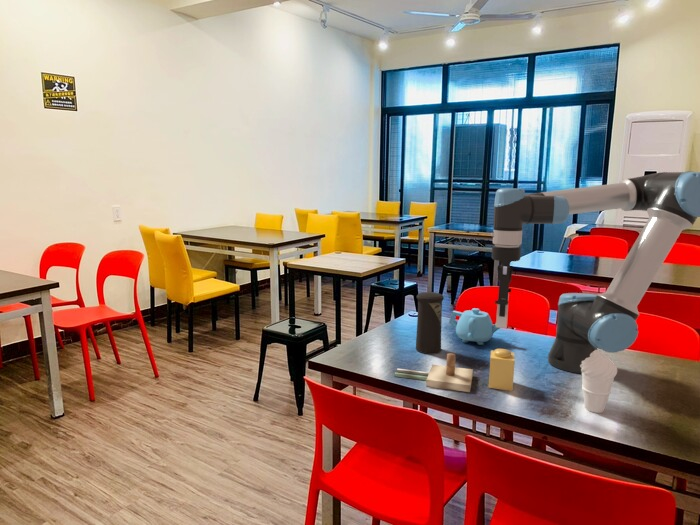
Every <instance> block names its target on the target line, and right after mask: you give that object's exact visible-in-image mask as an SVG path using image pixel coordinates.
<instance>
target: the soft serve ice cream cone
mask: <svg viewBox="0 0 700 525" xmlns="http://www.w3.org/2000/svg"><path fill="white" fill-rule="evenodd" d="M581 363H582V364H581V365H580V367H581V368H582V369H581V372H582V373H581V377H582V382H581V383H582V385H581V389H582V395H583V404H584V409H585V410H586V411H589V412H591V413H593V414H594V413H595V414H601V413H604V412H605V411H604V410H605V408H606V406H607V403H608V400H609V396H610V395H611V393H612V386H613V382H614V380H615V377H616V376H617V374H618V367H617V365H616V363H614V361H613V360H611V359H610V358H609V357H608V356H605V355H604V354H603V353H602V352H601V350H600V349H598V348H597V350H595V351H593V352H592V353H591V354H590V357H588V358H586V359H585V360H583V361H582V362H581Z"/></svg>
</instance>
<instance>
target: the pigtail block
mask: <svg viewBox="0 0 700 525" xmlns="http://www.w3.org/2000/svg"><path fill="white" fill-rule="evenodd" d="M473 373H474V369H473V368H472V369H471V368H464V367H456V354H455V353H452V352H449V353H447V354H446V365H440V364H431V367H430V369H429V371H428V372H427V371H419V370H413V369H405V368H396V370H395V372H394V375H393V376H394V377H396V378H404V379H405V378H406V379H411V380H412V379H413V380H420V381H425V386H426V387H430V388H435V389H442V390H451V391H459V392H465V393H470V392H471V387H472V380H473V377H474V376H473Z"/></svg>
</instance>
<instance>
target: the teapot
mask: <svg viewBox="0 0 700 525" xmlns="http://www.w3.org/2000/svg"><path fill="white" fill-rule="evenodd" d="M457 317H459V319H458V320H457V321H456V318H457ZM448 323H449V324H450V325H451V326H452V327H453V328H454V329H455V334H456V336H457V337H458V338H459V339H461V341H462V342H461V343H468V342H476V344H477V345H480V346H482V345H484V344H485V343H486V342H488V341H490V340H491V338H492V337H493V336H494V333H495V332H497V331H498V330H500V328H497V327H496V323H494V324H493V321H492V319H491V316H490V315H489V313H488V312H485V311H481V310H480V308H475V307H474V308H472V309H471V310H470V309H469V310H464V311H463V312H461V311H457V310H453V311H451V315H450V318H449V321H448Z"/></svg>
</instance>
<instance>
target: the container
mask: <svg viewBox="0 0 700 525" xmlns="http://www.w3.org/2000/svg"><path fill="white" fill-rule="evenodd" d="M416 299H417V319H416V320H417V321H416V322H417V324H416V339H415V350H416V351H417V352H419V353H421V354H431V355H432V354H438V353H440V352H441V351H442V323H443V322H442V319H443V318H442V317H443V316H442V313H443V310H442V309H443V301H444V299H445V298H444V295H443V294H441V293H439V292H433V291H423V292H420V293H418V294H417V295H416Z"/></svg>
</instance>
